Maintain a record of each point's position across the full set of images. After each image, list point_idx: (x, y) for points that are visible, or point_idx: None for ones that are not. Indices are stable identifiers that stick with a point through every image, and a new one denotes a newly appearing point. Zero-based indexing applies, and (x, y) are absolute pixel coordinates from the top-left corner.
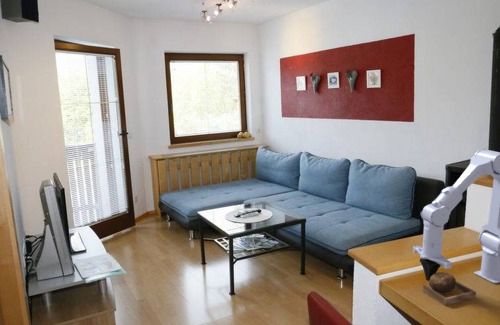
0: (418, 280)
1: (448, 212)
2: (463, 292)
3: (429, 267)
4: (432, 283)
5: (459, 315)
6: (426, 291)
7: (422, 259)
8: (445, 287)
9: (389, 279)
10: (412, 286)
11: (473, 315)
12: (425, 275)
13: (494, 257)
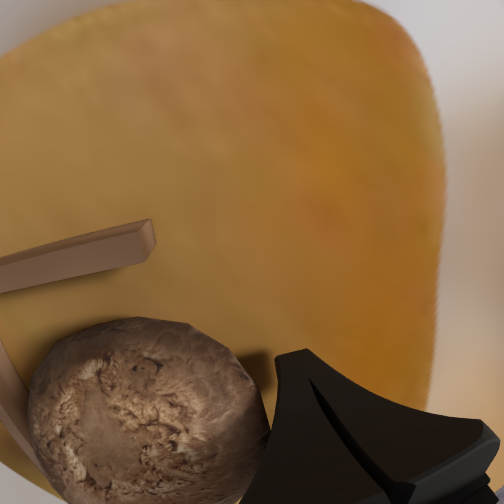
0: (353, 294)
1: None
2: None
3: (260, 488)
4: (127, 345)
5: None
6: (104, 233)
7: (469, 472)
8: (30, 396)
9: (419, 61)
10: (270, 172)
11: None
12: (321, 366)
13: None
